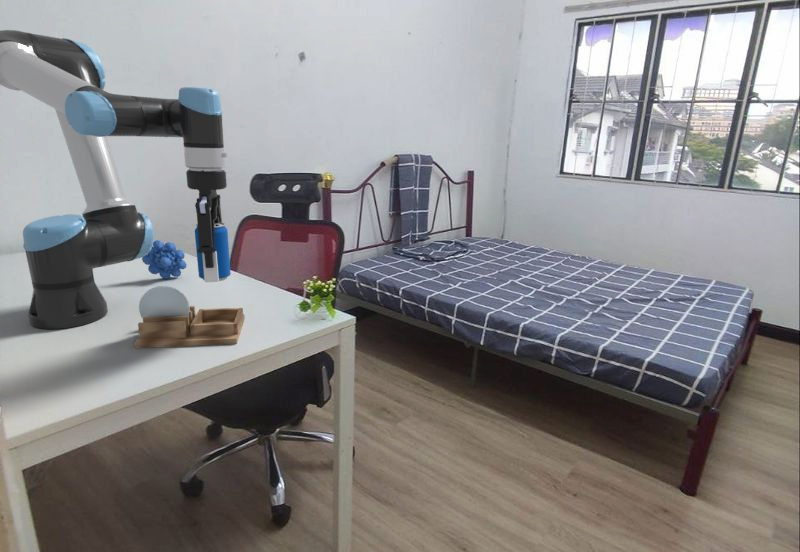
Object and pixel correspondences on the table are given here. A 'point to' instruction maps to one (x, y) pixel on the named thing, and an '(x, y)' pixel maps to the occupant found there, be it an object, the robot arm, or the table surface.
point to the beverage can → (221, 249)
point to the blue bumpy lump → (165, 260)
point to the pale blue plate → (163, 303)
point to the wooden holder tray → (192, 328)
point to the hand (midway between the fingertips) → (214, 276)
